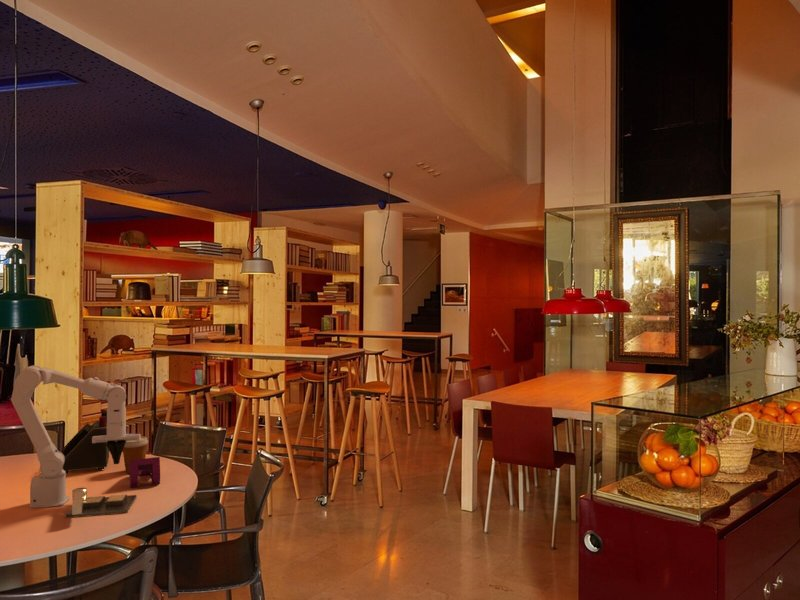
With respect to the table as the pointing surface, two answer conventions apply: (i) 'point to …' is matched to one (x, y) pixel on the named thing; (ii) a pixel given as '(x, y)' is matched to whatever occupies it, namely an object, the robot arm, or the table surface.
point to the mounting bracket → (144, 470)
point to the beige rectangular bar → (78, 500)
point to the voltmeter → (87, 448)
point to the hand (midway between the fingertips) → (116, 463)
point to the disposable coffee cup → (134, 451)
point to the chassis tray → (105, 505)
